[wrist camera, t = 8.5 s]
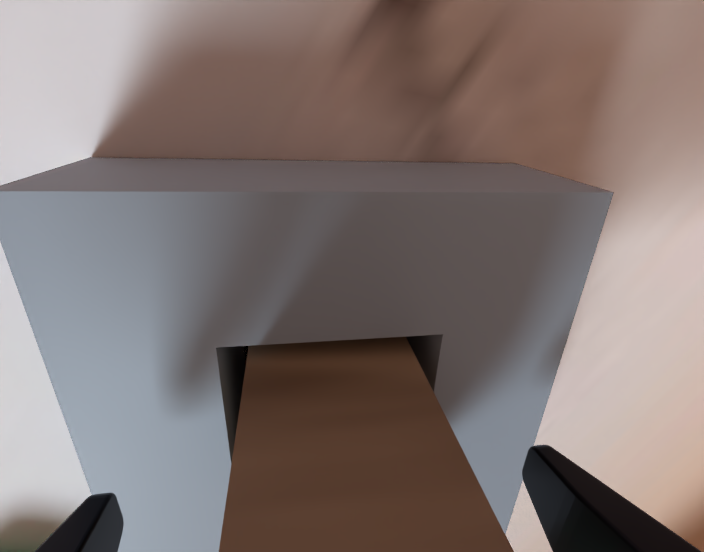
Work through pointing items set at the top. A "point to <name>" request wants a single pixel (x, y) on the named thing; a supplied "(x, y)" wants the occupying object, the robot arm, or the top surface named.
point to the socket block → (287, 305)
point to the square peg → (349, 457)
